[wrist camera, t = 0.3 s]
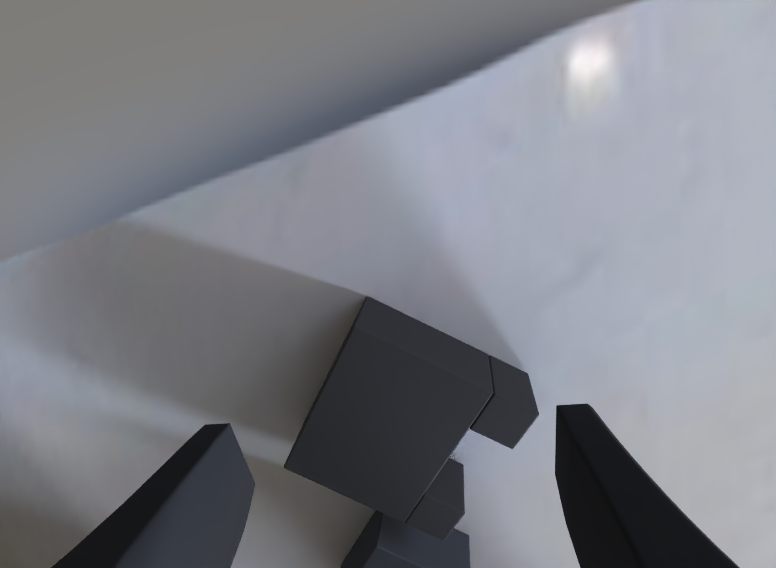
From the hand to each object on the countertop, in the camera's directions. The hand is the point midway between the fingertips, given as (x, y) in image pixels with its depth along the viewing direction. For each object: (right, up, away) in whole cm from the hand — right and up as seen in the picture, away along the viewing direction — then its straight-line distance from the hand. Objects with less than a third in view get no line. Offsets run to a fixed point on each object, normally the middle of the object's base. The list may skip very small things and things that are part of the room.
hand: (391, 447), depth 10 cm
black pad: (+1, -2, +12) cm, 12 cm away
